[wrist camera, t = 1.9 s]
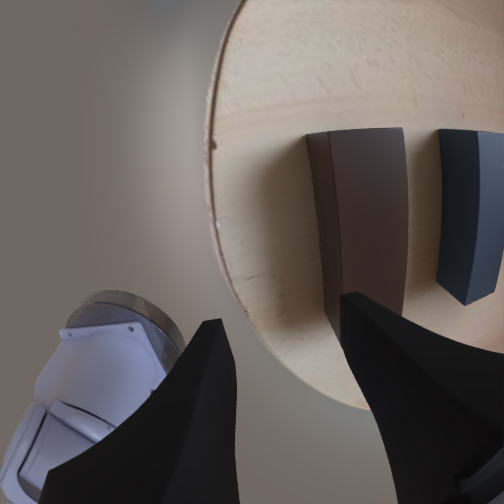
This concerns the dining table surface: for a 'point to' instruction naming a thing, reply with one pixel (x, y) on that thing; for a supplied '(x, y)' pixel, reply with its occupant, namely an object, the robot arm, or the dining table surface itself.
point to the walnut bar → (361, 215)
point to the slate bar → (471, 213)
